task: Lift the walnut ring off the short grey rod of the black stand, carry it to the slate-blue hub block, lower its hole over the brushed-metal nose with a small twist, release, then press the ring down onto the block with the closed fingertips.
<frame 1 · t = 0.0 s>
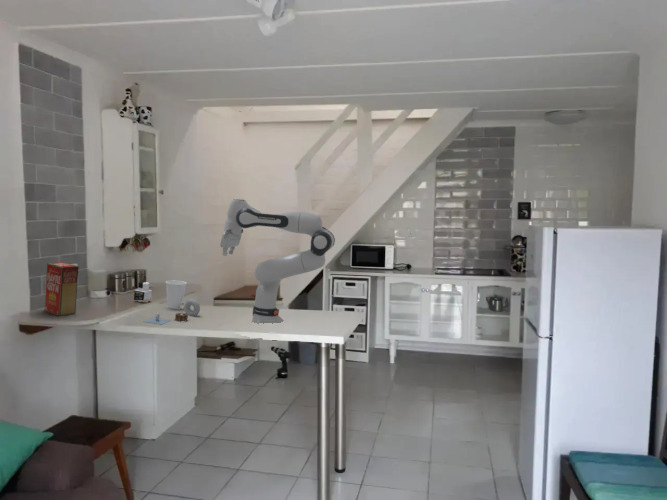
hand: (227, 254, 260), 39 cm above the breakfast bar, tool pointing down, fingers open, 8 cm apart
stand: (181, 321, 263), on the breakfast bar
hub: (157, 322, 255), on the breakfast bar
donut: (191, 316, 276), on the breakfast bar
food packaging: (59, 312, 253), on the breakfast bar
medicine bottle: (142, 301, 296), on the breakfast bar
cup: (173, 309, 288), on the breakfast bar
ring: (181, 319, 263), point 1 cm above the breakfast bar, touching stand
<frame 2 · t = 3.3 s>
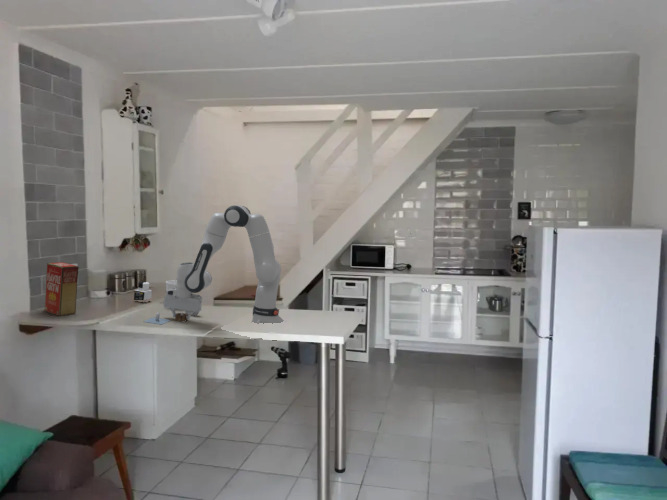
hand: (181, 317, 263), 2 cm above the breakfast bar, tool pointing down, fingers closed on ring, 6 cm apart
ring: (181, 319, 263), point 1 cm above the breakfast bar, touching gripper, stand
everything else where it was.
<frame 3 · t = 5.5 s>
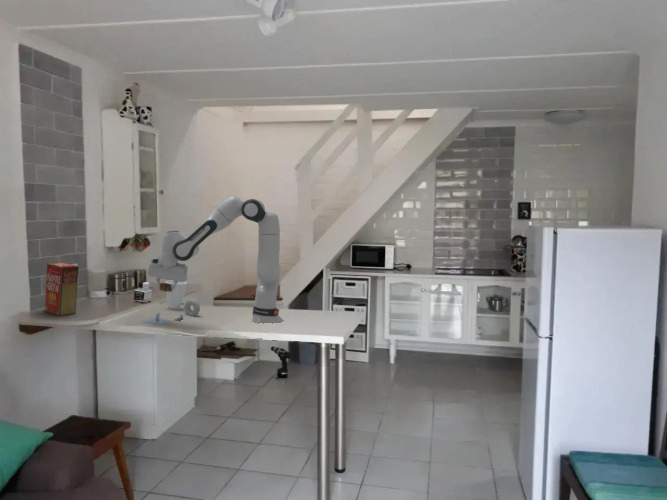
hand: (166, 287, 256), 18 cm above the breakfast bar, tool pointing down, fingers closed on ring, 6 cm apart
ring: (165, 290, 256), point 17 cm above the breakfast bar, tilted 5°, touching gripper
everything else where it was.
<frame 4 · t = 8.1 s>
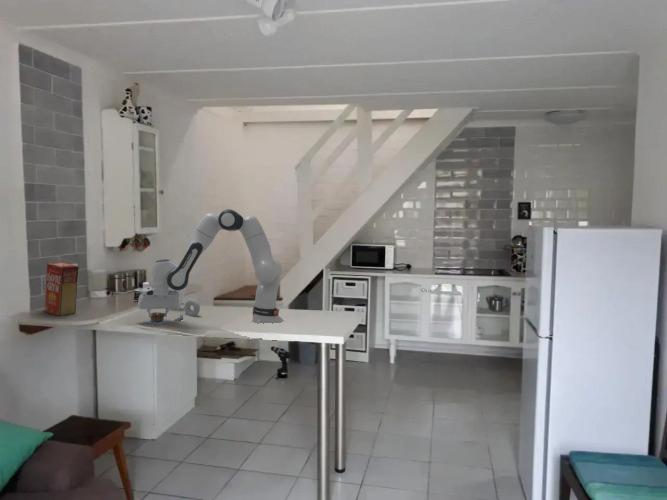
hand: (157, 316, 255), 3 cm above the breakfast bar, tool pointing down, fingers closed on ring, 6 cm apart
ring: (157, 319, 255), point 2 cm above the breakfast bar, touching gripper
everything else where it was.
when the fingers open (3 cm above the breakfast bar, at t = 8.5 s): ring stays where it is, resting on hub.
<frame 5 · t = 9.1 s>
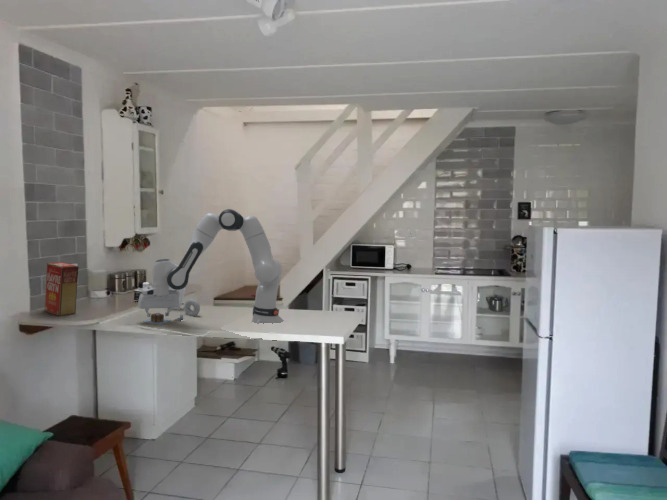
hand: (157, 316, 255), 4 cm above the breakfast bar, tool pointing down, fingers open, 8 cm apart
ring: (157, 320, 255), point 1 cm above the breakfast bar, touching hub
everything else where it was.
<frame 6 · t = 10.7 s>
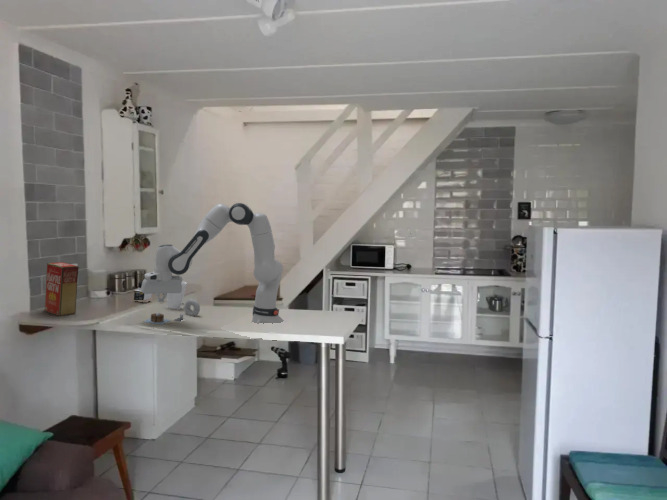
hand: (160, 301, 256), 11 cm above the breakfast bar, tool pointing down, fingers closed
nothing on the breakfast bar moved.
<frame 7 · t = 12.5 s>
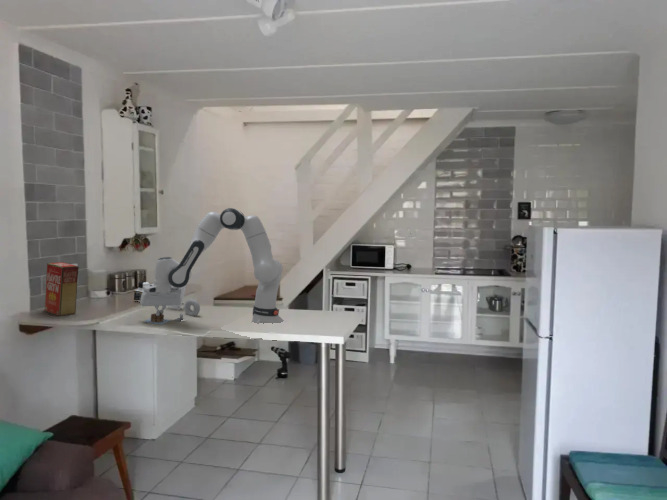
hand: (159, 313, 257), 4 cm above the breakfast bar, tool pointing down, fingers closed
nothing on the breakfast bar moved.
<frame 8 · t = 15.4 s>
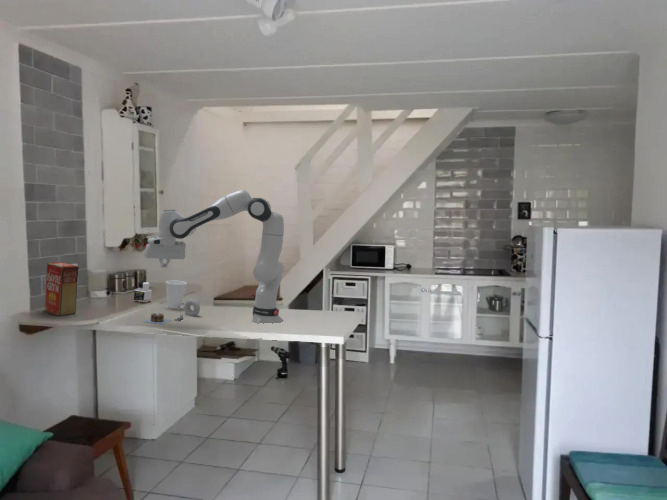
hand: (164, 267, 255), 29 cm above the breakfast bar, tool pointing down, fingers closed
nothing on the breakfast bar moved.
at the end: ring 0.4 cm off-centre on the hub, point 1.2 cm above the hub's base; the gripper is holding nothing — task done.
